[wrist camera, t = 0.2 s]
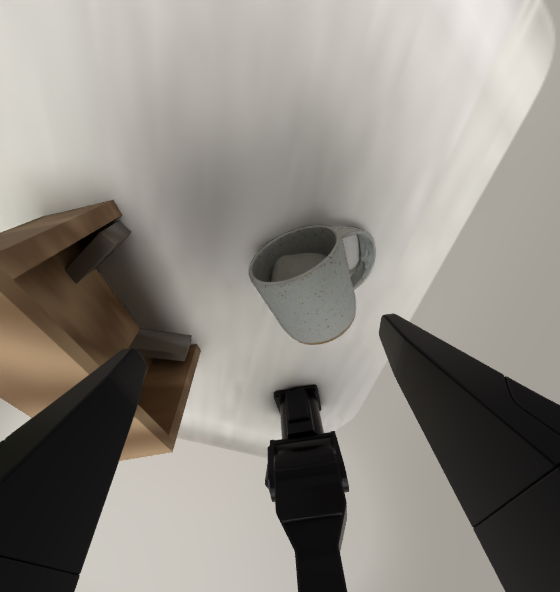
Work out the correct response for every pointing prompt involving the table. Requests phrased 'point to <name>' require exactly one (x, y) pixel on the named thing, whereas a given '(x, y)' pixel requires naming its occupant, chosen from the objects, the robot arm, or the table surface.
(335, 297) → the ceramic mug
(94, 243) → the wooden storage tray
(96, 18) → the table surface
